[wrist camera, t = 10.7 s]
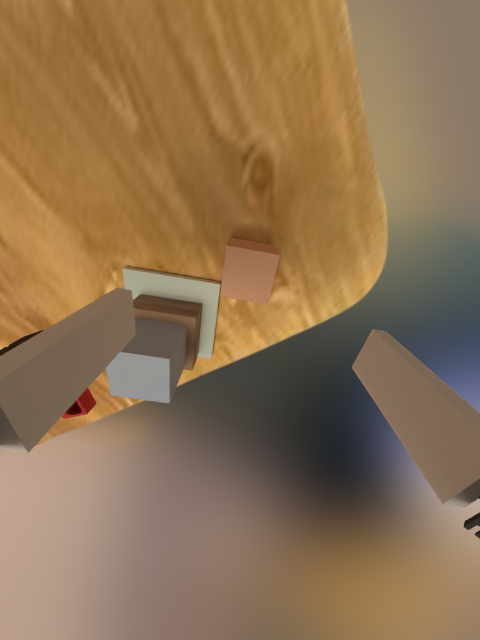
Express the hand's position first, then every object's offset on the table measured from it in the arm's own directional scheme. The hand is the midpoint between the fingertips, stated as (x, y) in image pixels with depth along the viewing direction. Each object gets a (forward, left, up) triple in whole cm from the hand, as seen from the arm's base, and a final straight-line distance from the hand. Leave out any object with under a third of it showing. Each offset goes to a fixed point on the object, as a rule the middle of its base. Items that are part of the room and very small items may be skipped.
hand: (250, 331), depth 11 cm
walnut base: (+10, -9, -15) cm, 20 cm away
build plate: (+9, -9, -16) cm, 20 cm away
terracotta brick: (0, 0, -16) cm, 16 cm away
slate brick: (+10, -9, -11) cm, 17 cm away
